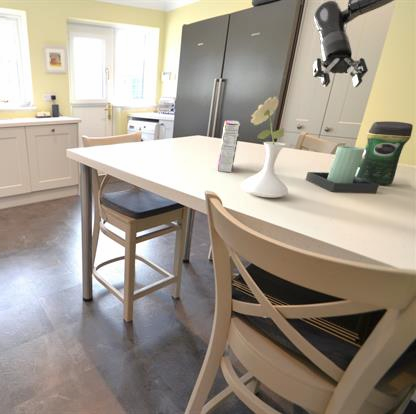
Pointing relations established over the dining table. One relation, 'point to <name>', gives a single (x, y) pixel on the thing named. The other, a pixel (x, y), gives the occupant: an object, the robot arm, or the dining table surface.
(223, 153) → the candy bar box
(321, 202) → the dining table surface
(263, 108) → the flower in vase
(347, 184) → the dark square tray
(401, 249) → the dining table surface
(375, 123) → the coffee jar
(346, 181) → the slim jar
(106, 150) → the dining table surface
